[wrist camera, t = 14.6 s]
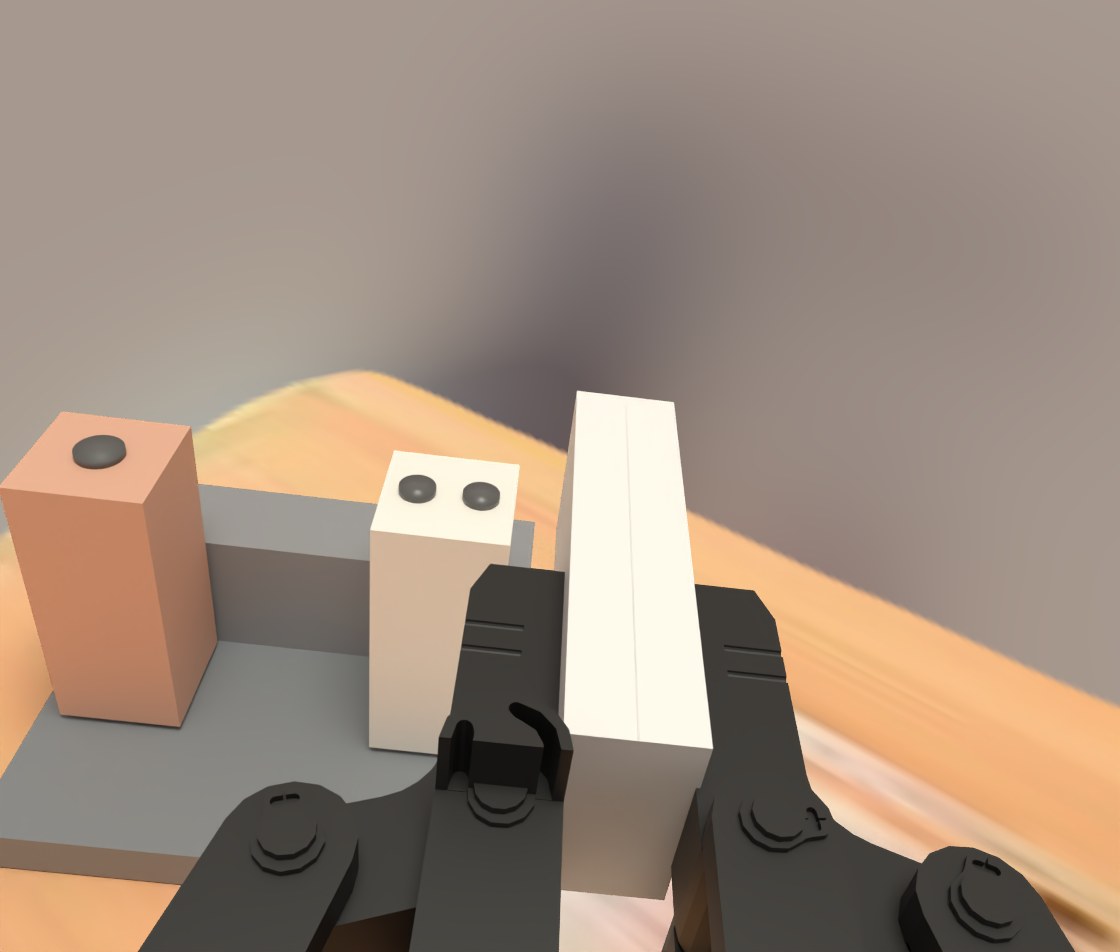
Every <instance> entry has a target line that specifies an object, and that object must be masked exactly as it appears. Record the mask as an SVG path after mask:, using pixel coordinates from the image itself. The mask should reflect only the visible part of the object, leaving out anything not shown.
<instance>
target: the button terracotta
mask: <svg viewBox="0 0 1120 952" xmlns="http://www.w3.org/2000/svg"><path fill="white" fill-rule="evenodd" d="M0 495H1V500H2V503H3V507H4V510H5V514H6V518H7V521H8V525H9V529H10V532H11V536H12V540H13V543H14V547H15V551H16V554H17V558H18V562H19V565H20V569H21V573H22V576H23V580H24V584H25V587H26V591H27V595H28V598H29V602H30V606H31V609H32V613H33V617H34V620H35V624H36V627H37V631H38V635H39V638H40V642H41V646H42V649H43V653H44V657H45V660H46V664H47V668H48V671H49V675H50V679H51V682H52V686H53V690H54V693H55V697H56V701H57V704H58V708H59V712H60V714H61V715H71V716H80V717H90V718H100V719H109V720H119V721H129V722H138V723H148V724H157V725H167V726H177V727H180V726H181V723H182V721H183V719H184V717H185V714H186V712H187V710H188V708H189V705H190V703H191V701H192V698H193V696H194V694H195V692H196V689H197V687H198V685H199V683H200V680H201V678H202V676H203V673H204V671H205V669H206V667H207V664H208V662H209V660H210V658H211V655H212V653H213V651H214V648H215V646H216V644H217V642H218V641H217V633H216V625H215V617H214V609H213V601H212V593H211V585H210V577H209V569H208V561H207V553H206V544H205V536H204V528H203V520H202V512H201V504H200V496H199V488H198V480H197V472H196V464H195V456H194V448H193V440H192V431H191V426H183V425H174V424H165V423H157V422H148V421H139V420H131V419H123V418H114V417H105V416H96V415H88V414H79V413H71V412H61V413H60V415H59V416H58V417H57V418H56V419H55V420H54V422H53V423H52V424H51V425H50V426H49V428H48V429H47V430H46V431H45V432H44V434H43V435H42V436H41V437H40V438H39V439H38V441H37V442H36V443H35V444H34V445H33V447H32V448H31V449H30V450H29V451H28V453H27V454H26V455H25V456H24V457H23V459H22V460H21V461H20V462H19V463H18V464H17V466H16V467H15V468H14V469H13V471H12V472H11V473H10V474H9V475H8V477H7V478H6V479H5V480H4V481H3V482H2V484H1V485H0Z"/></svg>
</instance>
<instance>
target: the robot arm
mask: <svg viewBox="0 0 1120 952" xmlns="http://www.w3.org/2000/svg"><path fill="white" fill-rule="evenodd" d="M671 877H672V890H673V906H674V917H673V920H672V922H671V925H670V928H669V931H668V934H667V937H666V940H665V943H664V946H663V949H662V952H1075V951H1074V949H1073V947H1072V946H1071V944H1070V943H1069V941H1068V939H1067V938H1066V936H1065V935H1064V933H1063V931H1062V930H1061V928H1060V927H1059V925H1058V923H1057V922H1056V920H1055V919H1054V917H1053V915H1052V914H1051V912H1050V911H1049V909H1048V907H1047V906H1046V904H1045V903H1044V901H1043V899H1042V898H1041V897H1040V895H1039V894H1038V893H1037V892H1036V891H1035V889H1034V888H1033V887H1032V886H1031V885H1030V883H1029V882H1028V881H1027V880H1026V879H1025V877H1024V876H1023V875H1022V874H1020V873H1019V872H1018V871H1016V870H1015V869H1014V868H1012V867H1011V866H1009V865H1008V864H1007V863H1005V862H1004V861H1003V860H1001V859H1000V858H998V857H996V856H993V855H990V854H988V853H985V852H983V851H980V850H978V849H975V848H970V847H955V846H948V847H946V848H943V849H940V850H937V851H935V852H932V853H930V854H929V855H928V856H927V858H926V859H925V860H924V862H923V863H922V864H921V863H919V862H916V861H914V860H911V859H909V858H906V857H904V856H901V855H899V854H896V853H894V852H891V851H889V850H886V849H884V848H881V847H879V846H876V845H874V844H871V843H869V842H867V841H865V840H863V839H861V838H859V837H857V836H855V835H853V834H852V833H850V832H849V831H848V830H846V829H845V828H844V827H842V826H841V825H840V824H838V823H837V822H836V821H835V820H834V819H833V818H832V815H831V813H830V811H829V808H828V807H827V806H826V805H825V804H824V803H823V802H822V801H821V799H820V798H819V797H818V796H817V795H816V794H815V793H814V792H813V791H812V790H811V787H810V784H809V781H808V778H807V775H806V770H805V765H804V760H803V755H802V750H801V745H800V741H799V736H798V731H797V726H796V721H795V716H794V711H793V706H792V701H791V696H790V691H789V686H788V683H786V672H785V667H784V662H783V657H781V647H780V642H779V637H778V632H777V627H776V622H775V619H774V618H773V616H772V615H771V614H770V612H769V611H768V609H767V608H766V607H765V605H764V604H763V602H762V601H761V600H760V598H759V597H758V595H757V594H756V593H755V591H753V590H744V589H735V588H726V587H717V586H708V585H699V584H694V576H693V567H692V559H691V550H690V541H689V532H688V523H687V514H686V506H685V497H684V488H683V480H682V470H681V462H680V453H679V444H678V435H677V427H676V417H675V409H674V402H666V401H657V400H649V399H640V398H632V397H623V396H616V395H607V394H599V393H590V392H582V391H577V396H576V401H575V408H574V415H573V422H572V429H571V435H570V442H569V449H568V455H567V462H566V469H565V475H564V482H563V489H562V496H561V502H560V509H559V516H558V523H557V531H556V547H555V564H554V571H552V570H543V569H534V568H525V567H516V566H507V565H498V564H490V565H489V566H488V567H487V568H486V570H485V571H484V572H483V573H482V575H481V576H480V577H479V578H478V580H477V581H476V582H475V583H474V585H473V586H472V587H471V588H470V594H469V600H468V606H467V612H466V618H465V625H464V631H463V637H462V643H461V650H460V656H459V662H458V668H457V675H456V681H455V687H454V693H453V700H452V706H451V712H450V715H449V716H448V717H447V718H446V721H445V723H444V725H443V728H442V730H441V732H440V735H439V739H438V754H437V762H436V764H435V765H434V767H433V768H432V769H431V770H430V771H429V772H428V773H427V774H426V775H425V776H424V777H423V778H421V779H420V780H419V781H418V782H416V783H414V784H412V785H411V786H409V787H407V788H405V789H403V790H402V791H398V792H395V793H392V794H388V795H385V796H382V797H377V798H371V799H366V800H361V801H356V802H351V803H345V801H344V800H343V799H342V797H341V796H339V795H338V794H336V793H334V792H332V791H330V790H329V789H327V788H325V787H323V786H321V785H318V784H311V783H303V782H296V781H293V782H288V783H283V784H277V785H272V786H267V787H266V788H264V789H262V790H260V791H258V792H256V793H254V794H253V795H251V796H249V797H247V798H245V799H243V801H242V802H241V803H240V804H239V805H238V806H237V807H236V808H235V809H234V810H233V811H232V812H231V813H230V814H229V815H228V816H227V817H226V818H225V820H224V821H223V823H222V825H221V826H220V828H219V829H218V831H217V832H216V834H215V835H214V837H213V838H212V840H211V841H210V843H209V844H208V846H207V847H206V849H205V850H204V852H203V853H202V855H201V856H200V858H199V860H198V861H197V863H196V864H195V866H194V867H193V869H192V870H191V872H190V873H189V875H188V876H187V878H186V879H185V881H184V882H183V884H182V885H181V887H180V888H179V890H178V891H177V893H176V895H175V896H174V898H173V899H172V901H171V902H170V904H169V905H168V907H167V908H166V910H165V911H164V913H163V914H162V916H161V917H160V919H159V920H158V922H157V923H156V925H155V926H154V928H153V930H152V931H151V933H150V934H149V936H148V937H147V939H146V940H145V942H144V943H143V945H142V946H141V948H140V949H139V951H138V952H559V928H560V898H561V890H566V891H576V892H587V893H597V894H607V895H617V896H627V897H637V898H648V899H658V900H664V899H665V896H666V892H667V889H668V886H669V883H670V880H671Z"/></svg>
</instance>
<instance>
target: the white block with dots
mask: <svg viewBox="0 0 1120 952" xmlns="http://www.w3.org/2000/svg"><path fill="white" fill-rule="evenodd" d="M519 467H520V465H515V464H506V463H498V462H489V461H480V460H472V459H463V458H454V457H446V456H437V455H429V454H420V453H411V452H403V451H394V453H393V456H392V459H391V463H390V466H389V469H388V473H387V476H386V479H385V482H384V486H383V489H382V492H381V496H380V499H379V502H378V505H377V509H376V512H375V515H374V519H373V522H372V525H371V528H370V644H369V747H372V748H382V749H392V750H401V751H411V752H421V753H430V754H438V739H439V735H440V732H441V730H442V728H443V725H444V723H445V721H446V718H447V717H448V716H449V715H450V712H451V706H452V700H453V693H454V687H455V681H456V675H457V668H458V662H459V656H460V650H461V643H462V637H463V631H464V625H465V618H466V612H467V606H468V600H469V594H470V588H471V587H472V586H473V585H474V583H475V582H476V581H477V580H478V578H479V577H480V576H481V575H482V573H483V572H484V571H485V570H486V568H487V567H488V566H489V565H490V564H498V565H507V566H508V564H509V555H510V546H511V537H512V529H513V520H514V511H515V502H516V494H517V485H518V476H519Z"/></svg>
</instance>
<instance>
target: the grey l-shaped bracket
mask: <svg viewBox="0 0 1120 952" xmlns="http://www.w3.org/2000/svg"><path fill="white" fill-rule="evenodd" d="M198 488H199V496H200V504H201V512H202V520H203V528H204V536H205V544H206V553H207V561H208V569H209V577H210V585H211V593H212V601H213V609H214V617H215V625H216V633H217V641H218V642H217V644H216V646H215V648H214V651H213V653H212V655H211V658H210V660H209V662H208V664H207V667H206V669H205V671H204V673H203V676H202V678H201V680H200V683H199V685H198V687H197V689H196V692H195V694H194V696H193V698H192V701H191V703H190V705H189V708H188V710H187V712H186V714H185V717H184V719H183V721H182V723H181V726H180V727H177V726H167V725H157V724H148V723H138V722H129V721H119V720H109V719H100V718H90V717H80V716H71V715H61V714H60V712H59V708H58V704H57V701H56V697H55V693H54V690H53V692H52V693H51V695H50V697H49V698H48V700H47V702H46V703H45V705H44V707H43V708H42V710H41V712H40V713H39V715H38V717H37V718H36V720H35V722H34V724H33V725H32V727H31V729H30V730H29V732H28V734H27V735H26V737H25V739H24V740H23V742H22V744H21V745H20V747H19V749H18V750H17V752H16V754H15V755H14V757H13V759H12V761H11V762H10V764H9V766H8V767H7V769H6V771H5V772H4V774H3V776H2V777H1V779H0V867H5V868H15V869H26V870H36V871H46V872H57V873H67V874H77V875H88V876H98V877H108V878H118V879H129V880H139V881H149V882H160V883H170V884H180V885H182V884H183V882H184V881H185V879H186V878H187V876H188V875H189V873H190V872H191V870H192V869H193V867H194V866H195V864H196V863H197V861H198V860H199V858H200V856H201V855H202V853H203V852H204V850H205V849H206V847H207V846H208V844H209V843H210V841H211V840H212V838H213V837H214V835H215V834H216V832H217V831H218V829H219V828H220V826H221V825H222V823H223V821H224V820H225V818H226V817H227V816H228V815H229V814H230V813H231V812H232V811H233V810H234V809H235V808H236V807H237V806H238V805H239V804H240V803H241V802H242V801H243V799H245V798H247V797H249V796H251V795H253V794H254V793H256V792H258V791H260V790H262V789H264V788H266V787H267V786H272V785H277V784H283V783H288V782H293V781H296V782H303V783H311V784H318V785H321V786H323V787H325V788H327V789H329V790H330V791H332V792H334V793H336V794H338V795H339V796H341V797H342V799H343V800H344V801H345V803H351V802H356V801H361V800H366V799H371V798H377V797H382V796H385V795H388V794H392V793H395V792H398V791H402V790H403V789H405V788H407V787H409V786H411V785H412V784H414V783H416V782H418V781H419V780H420V779H421V778H423V777H424V776H425V775H426V774H427V773H428V772H429V771H430V770H431V769H432V768H433V767H434V765H435V764H436V762H437V754H430V753H421V752H411V751H401V750H392V749H382V748H372V747H369V644H370V528H371V525H372V522H373V519H374V515H375V512H376V509H377V505H378V504H371V503H362V502H353V501H344V500H336V499H327V498H318V497H309V496H300V495H292V494H283V493H274V492H265V491H256V490H248V489H239V488H230V487H221V486H212V485H204V484H198ZM534 525H535V522H529V521H521V520H513V529H512V537H511V546H510V555H509V564H508V566H516V567H525V568H531V559H532V548H533V536H534Z"/></svg>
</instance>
